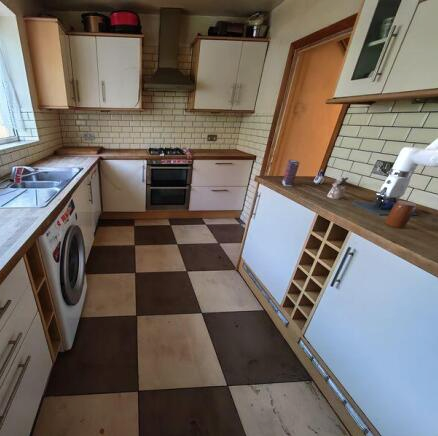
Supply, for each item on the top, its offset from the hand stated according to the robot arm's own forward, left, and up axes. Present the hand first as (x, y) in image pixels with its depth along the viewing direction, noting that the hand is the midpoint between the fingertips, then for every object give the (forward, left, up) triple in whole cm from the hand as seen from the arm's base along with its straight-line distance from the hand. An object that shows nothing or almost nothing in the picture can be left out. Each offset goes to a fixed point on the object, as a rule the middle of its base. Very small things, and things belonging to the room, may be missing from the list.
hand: (382, 207), depth 117 cm
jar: (+13, +18, -1) cm, 22 cm away
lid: (0, 0, +3) cm, 3 cm away
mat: (0, 0, -1) cm, 1 cm away
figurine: (+12, -17, -1) cm, 21 cm away
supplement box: (+26, -41, -1) cm, 48 cm away
